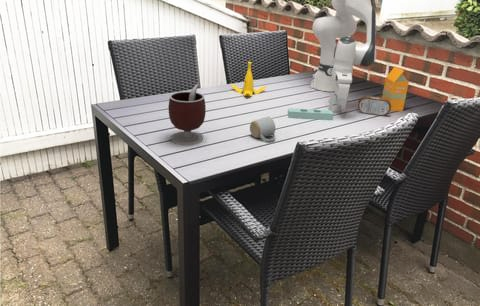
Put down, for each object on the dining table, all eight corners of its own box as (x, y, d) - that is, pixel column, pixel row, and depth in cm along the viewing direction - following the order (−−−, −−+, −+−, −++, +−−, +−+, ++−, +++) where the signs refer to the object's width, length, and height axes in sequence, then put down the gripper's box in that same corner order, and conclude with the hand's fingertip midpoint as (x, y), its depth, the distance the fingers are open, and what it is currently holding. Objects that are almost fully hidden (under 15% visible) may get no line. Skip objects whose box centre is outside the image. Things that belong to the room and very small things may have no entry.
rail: (287, 114, 195) (288, 107, 194) (330, 116, 194) (331, 110, 193) (288, 117, 190) (288, 111, 189) (332, 120, 190) (333, 113, 189)
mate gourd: (194, 148, 155) (194, 96, 147) (162, 141, 160) (160, 90, 152) (213, 134, 168) (214, 86, 160) (182, 128, 173) (182, 81, 165)
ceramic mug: (247, 134, 170) (249, 117, 166) (264, 131, 174) (265, 114, 171) (263, 144, 162) (265, 126, 159) (280, 140, 166) (281, 122, 163)
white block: (328, 110, 199) (330, 95, 195) (327, 109, 200) (329, 94, 197) (345, 111, 198) (347, 96, 195) (344, 110, 200) (346, 95, 197)
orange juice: (394, 105, 214) (402, 66, 206) (403, 110, 206) (411, 70, 198) (380, 105, 213) (387, 66, 205) (388, 111, 205) (396, 70, 197)
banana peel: (246, 99, 213) (248, 67, 206) (230, 89, 228) (231, 58, 221) (274, 96, 220) (277, 64, 213) (256, 87, 235) (258, 57, 228)
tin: (389, 115, 199) (392, 98, 196) (389, 117, 197) (392, 100, 193) (356, 111, 203) (359, 94, 200) (356, 112, 201) (359, 96, 197)
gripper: (331, 68, 201) (327, 95, 207) (338, 79, 183) (334, 109, 189) (345, 69, 201) (340, 96, 207) (353, 80, 183) (348, 110, 189)
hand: (337, 103), depth 198 cm, fingers closed on white block, 2 cm apart
